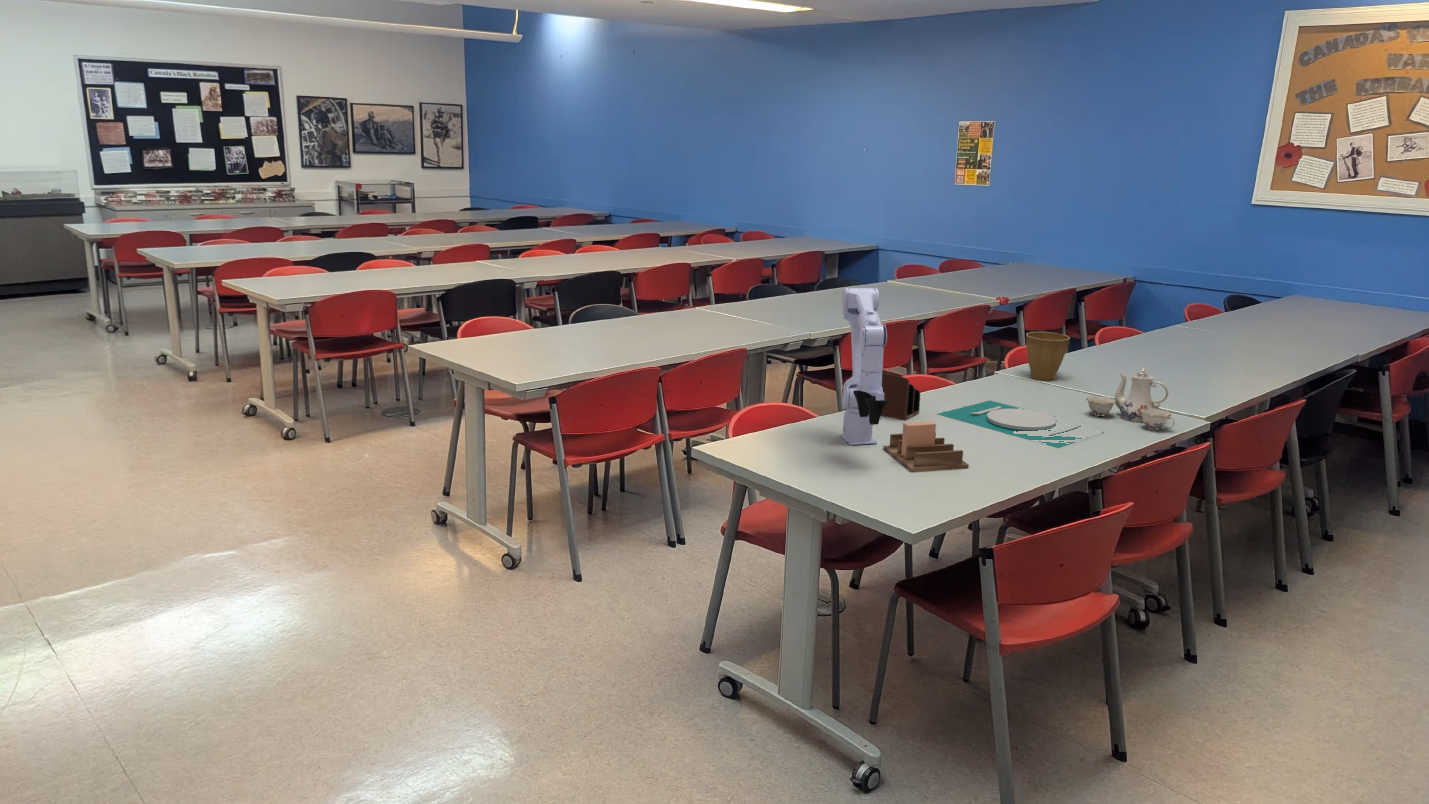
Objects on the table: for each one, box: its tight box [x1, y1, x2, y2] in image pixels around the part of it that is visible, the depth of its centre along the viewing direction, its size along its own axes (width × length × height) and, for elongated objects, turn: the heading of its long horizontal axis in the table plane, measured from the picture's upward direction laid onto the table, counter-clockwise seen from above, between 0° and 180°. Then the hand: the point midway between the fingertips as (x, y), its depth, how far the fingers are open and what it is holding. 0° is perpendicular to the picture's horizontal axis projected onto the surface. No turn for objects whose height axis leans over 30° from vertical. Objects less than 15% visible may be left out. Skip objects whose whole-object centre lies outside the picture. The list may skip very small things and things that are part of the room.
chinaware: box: [1085, 367, 1176, 431], centre depth 281 cm, size 28×17×17 cm, turn 43°
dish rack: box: [882, 431, 970, 473], centre depth 246 cm, size 19×16×4 cm
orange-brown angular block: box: [901, 420, 937, 458], centre depth 244 cm, size 3×8×9 cm, turn 105°
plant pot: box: [1025, 331, 1071, 382], centre depth 333 cm, size 15×15×16 cm
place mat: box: [936, 400, 1082, 449], centre depth 280 cm, size 45×30×2 cm
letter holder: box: [850, 370, 921, 421], centre depth 289 cm, size 10×20×14 cm, turn 53°
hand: (868, 420), depth 244 cm, fingers open, 7 cm apart
